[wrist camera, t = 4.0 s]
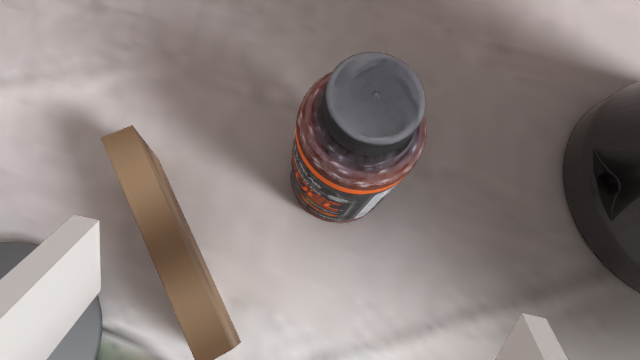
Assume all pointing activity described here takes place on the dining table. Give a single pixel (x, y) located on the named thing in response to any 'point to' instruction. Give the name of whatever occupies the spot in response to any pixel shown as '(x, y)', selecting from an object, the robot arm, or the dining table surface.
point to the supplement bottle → (357, 136)
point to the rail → (171, 246)
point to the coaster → (85, 335)
